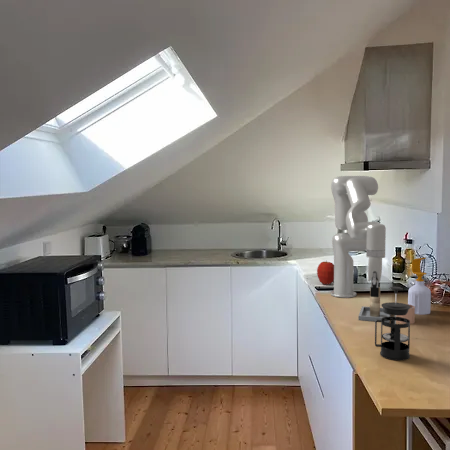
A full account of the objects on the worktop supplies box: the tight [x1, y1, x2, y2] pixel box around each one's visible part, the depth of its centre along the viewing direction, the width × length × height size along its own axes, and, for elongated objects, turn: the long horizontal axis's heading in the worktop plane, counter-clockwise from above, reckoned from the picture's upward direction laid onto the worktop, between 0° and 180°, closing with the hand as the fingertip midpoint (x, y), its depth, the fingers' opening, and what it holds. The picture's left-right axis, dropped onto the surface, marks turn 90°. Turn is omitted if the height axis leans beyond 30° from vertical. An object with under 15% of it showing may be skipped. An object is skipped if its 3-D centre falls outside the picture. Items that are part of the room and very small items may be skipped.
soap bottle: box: [407, 257, 432, 316], centre depth 209 cm, size 9×9×25 cm
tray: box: [357, 305, 391, 323], centre depth 204 cm, size 16×12×2 cm
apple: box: [316, 260, 334, 285], centre depth 270 cm, size 10×10×14 cm
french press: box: [374, 286, 411, 362], centre depth 160 cm, size 12×9×23 cm
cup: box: [396, 303, 416, 325], centre depth 196 cm, size 7×7×7 cm
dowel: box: [369, 286, 381, 317], centre depth 204 cm, size 4×4×12 cm
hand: (375, 294), depth 204 cm, fingers open, 9 cm apart
